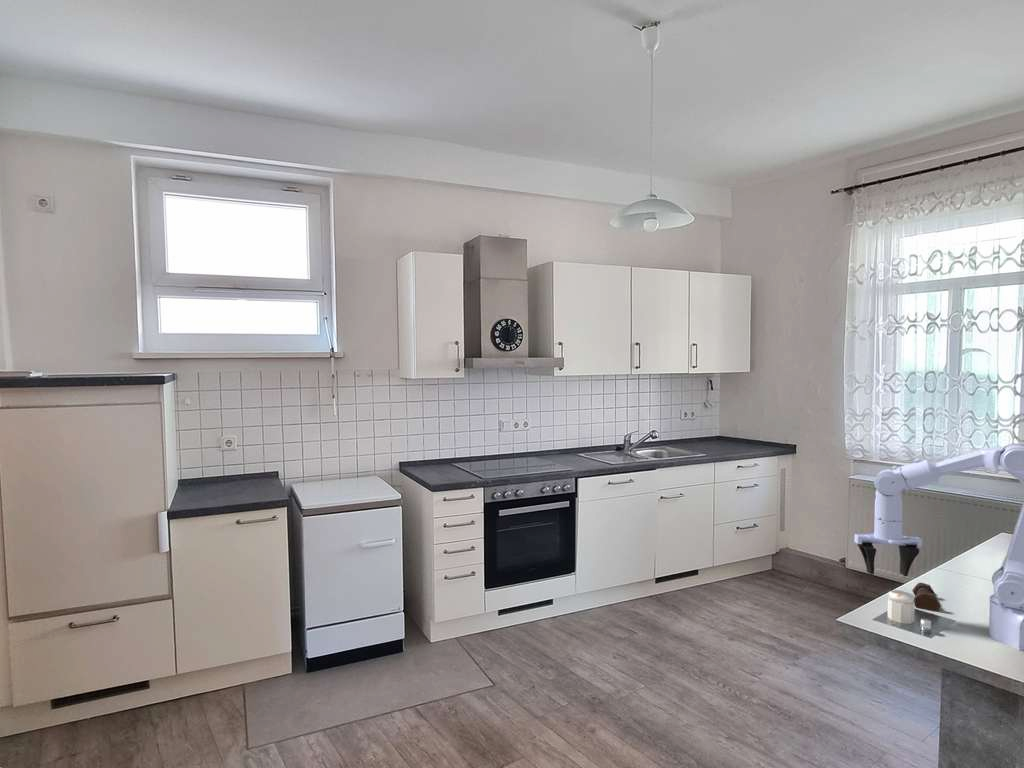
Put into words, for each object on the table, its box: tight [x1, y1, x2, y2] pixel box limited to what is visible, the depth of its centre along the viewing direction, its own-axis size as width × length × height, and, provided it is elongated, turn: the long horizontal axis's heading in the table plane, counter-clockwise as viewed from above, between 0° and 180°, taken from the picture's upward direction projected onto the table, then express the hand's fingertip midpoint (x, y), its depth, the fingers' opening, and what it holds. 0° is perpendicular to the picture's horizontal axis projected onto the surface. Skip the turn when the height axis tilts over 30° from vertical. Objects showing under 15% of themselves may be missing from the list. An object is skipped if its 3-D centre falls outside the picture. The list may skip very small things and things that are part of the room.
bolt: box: [911, 582, 942, 612], centre depth 152 cm, size 6×5×15 cm
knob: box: [887, 589, 916, 624], centre depth 139 cm, size 5×5×6 cm
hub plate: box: [871, 608, 957, 639], centre depth 139 cm, size 16×12×4 cm
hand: (887, 573), depth 144 cm, fingers open, 7 cm apart
